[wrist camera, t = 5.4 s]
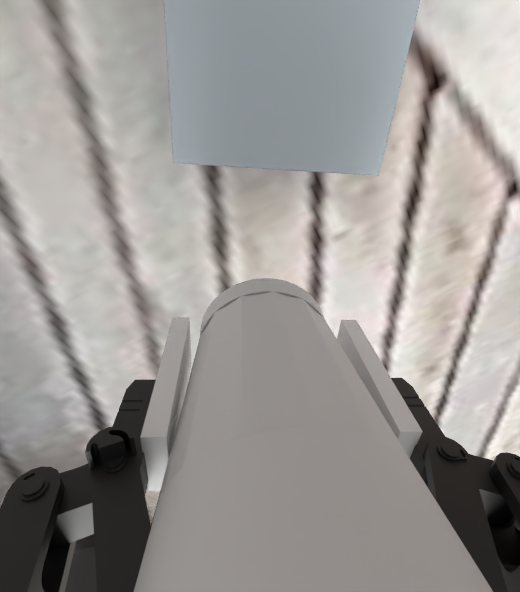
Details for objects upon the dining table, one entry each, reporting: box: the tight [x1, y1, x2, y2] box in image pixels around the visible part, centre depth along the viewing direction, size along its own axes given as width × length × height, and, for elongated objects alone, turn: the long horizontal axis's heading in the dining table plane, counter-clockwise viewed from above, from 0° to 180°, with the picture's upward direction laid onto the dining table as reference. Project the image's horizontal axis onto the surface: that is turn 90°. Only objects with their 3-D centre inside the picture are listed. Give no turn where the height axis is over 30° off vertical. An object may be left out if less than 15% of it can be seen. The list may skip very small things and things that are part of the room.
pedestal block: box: [164, 0, 420, 176], centre depth 16 cm, size 10×10×5 cm
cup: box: [134, 278, 493, 592], centre depth 12 cm, size 8×8×12 cm
